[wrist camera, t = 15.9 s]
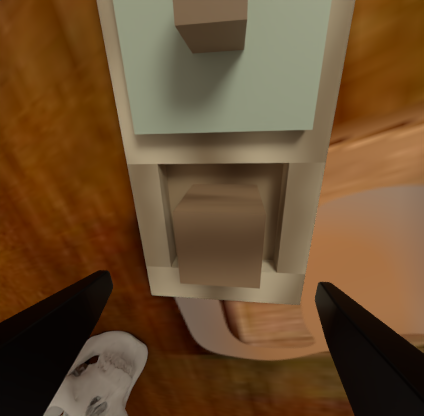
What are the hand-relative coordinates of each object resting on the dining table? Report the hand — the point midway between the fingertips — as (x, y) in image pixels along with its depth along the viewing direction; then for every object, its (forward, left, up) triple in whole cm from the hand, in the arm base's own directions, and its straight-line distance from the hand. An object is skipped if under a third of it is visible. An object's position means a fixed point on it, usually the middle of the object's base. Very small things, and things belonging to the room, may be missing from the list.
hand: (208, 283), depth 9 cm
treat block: (0, 0, -7) cm, 7 cm away
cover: (0, -11, -6) cm, 12 cm away
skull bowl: (+15, +21, -8) cm, 27 cm away
